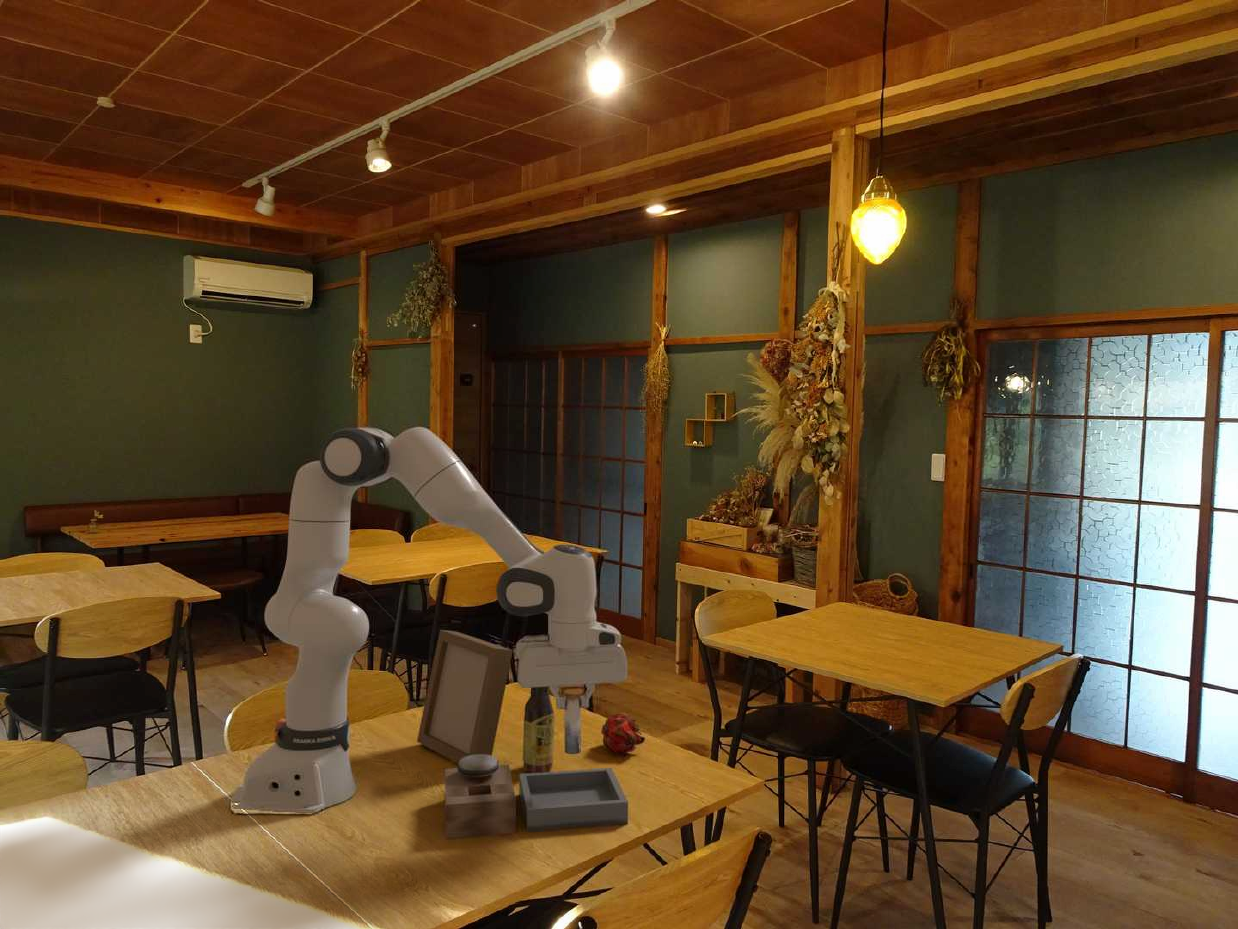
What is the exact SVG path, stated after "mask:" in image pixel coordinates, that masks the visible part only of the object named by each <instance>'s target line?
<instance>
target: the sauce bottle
mask: <svg viewBox="0 0 1238 929" xmlns="http://www.w3.org/2000/svg"><path fill="white" fill-rule="evenodd" d="M554 736H555V712H554V708H553V704H552V701H551V698H550V686H549V687H532V688H530V696H529V698H528V700H527V701H526V703H525V706H524V718H523V740H522V741H523V743H522V744H523V745H522V746H523V747H522V761H523V766H522V767H523V770H524V771H526V772H527V773H542V772H550V770H552V768H553V763H554V743H555V740H554V739H555V738H554Z"/></svg>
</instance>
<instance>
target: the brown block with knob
mask: <svg viewBox="0 0 1238 929" xmlns="http://www.w3.org/2000/svg"><path fill="white" fill-rule="evenodd" d="M456 766H457V767H453V768H445V769H444V788H445V789H444V793H445V794H444V801H445V802H444V803H445V804H444V805H445V807H444V808H445V809H444V810H445V839H446V840H447V839H448V840H449V839H458V838H460V839H461V838H472V837H483V836H485V837H486V836H497V835H498V836H499V835H507V834H508V835H509V834H517V833H516V832H517V830H516V829H517V824H516V823H517V820H516V819H517V815H516V814H517V811H516V810H517V800H516V793H515V788H514V783H513V778H512V773H511V768H510V765H509V764H500V762H499V759H497V757H496V756H494V755H492V756H491V755H486V754H475V755H469V756H466V757H464V758H462V759H461V760H460V761H459V762H458V763H456Z"/></svg>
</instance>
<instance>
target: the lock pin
mask: <svg viewBox="0 0 1238 929" xmlns="http://www.w3.org/2000/svg"><path fill="white" fill-rule="evenodd" d="M559 691H560V694H561V695H562V696H563V697H564V699H565V709H563V711H564V713H563V714H564V717H563V718H564V724H563V725H564V753H565V754H567V755H578V754H580V753H582V727H581V725H582V723H581V722H582V715H581V714H582V712H581V710H582V709H581V696H583V695H584V694H585V684H582V685H565V686H559Z"/></svg>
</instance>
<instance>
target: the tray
mask: <svg viewBox="0 0 1238 929" xmlns="http://www.w3.org/2000/svg"><path fill="white" fill-rule="evenodd" d="M518 775H519V776H518V780H519V781H518V783H519V784H518V785H519V786H518V787H519V788H518V789H519V791H518V793H519V799H520V803H521V808H522V813H523V819H524V823H525V824H524V825H525V827H526V832H527V833H529V832H530V833H534V832H545V831H547V832H548V831H554V830H555V831H557V830H571V829H580V828H582V829H583V828H592V827H607V826H617V825H628V824H629V801H628V799H627V797H626V795H625V793H624V791H623V789H622V787H621V784H620V782H619V781H618V778H617V777H616V774H615V772H614V770H613V768H612V767H605V768H604V767H601V768H588V769H574V770H573V769H572V770H560V771H548V772H542V773H530V772H527V773H519V774H518Z"/></svg>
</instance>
